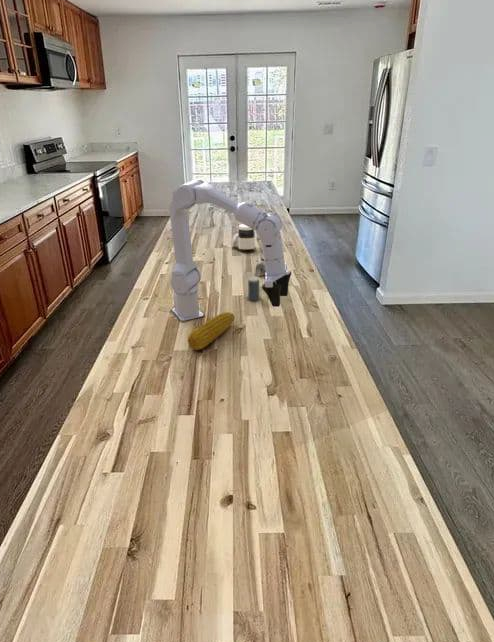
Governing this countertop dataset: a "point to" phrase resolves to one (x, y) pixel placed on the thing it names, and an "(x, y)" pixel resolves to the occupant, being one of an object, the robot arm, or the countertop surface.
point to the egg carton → (260, 269)
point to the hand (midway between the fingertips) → (280, 300)
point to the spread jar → (244, 239)
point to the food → (210, 330)
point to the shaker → (253, 289)
